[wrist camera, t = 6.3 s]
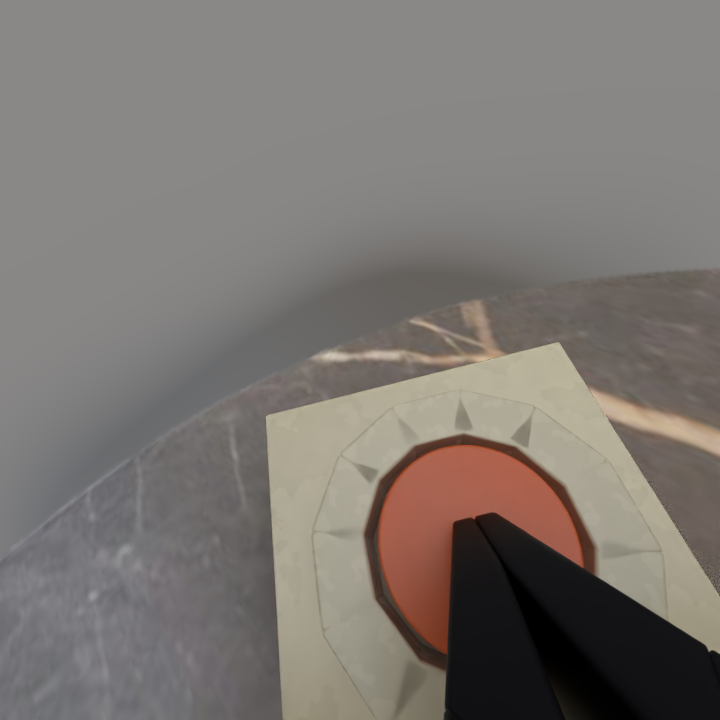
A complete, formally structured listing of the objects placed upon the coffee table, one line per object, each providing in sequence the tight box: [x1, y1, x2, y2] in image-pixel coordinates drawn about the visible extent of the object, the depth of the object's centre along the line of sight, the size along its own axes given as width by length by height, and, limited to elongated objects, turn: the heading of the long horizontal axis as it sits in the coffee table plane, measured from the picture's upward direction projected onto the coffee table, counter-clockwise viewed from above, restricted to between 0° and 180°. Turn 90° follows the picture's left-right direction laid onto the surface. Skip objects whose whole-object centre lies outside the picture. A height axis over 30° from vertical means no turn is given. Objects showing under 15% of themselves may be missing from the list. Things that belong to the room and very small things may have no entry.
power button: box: [378, 445, 584, 655], centre depth 8 cm, size 4×4×2 cm
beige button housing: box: [266, 342, 720, 720], centre depth 10 cm, size 10×10×6 cm
